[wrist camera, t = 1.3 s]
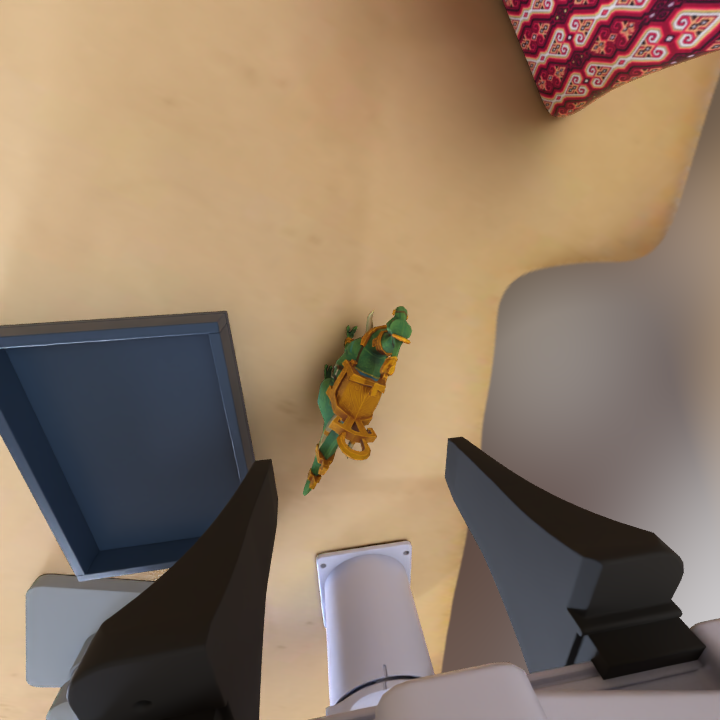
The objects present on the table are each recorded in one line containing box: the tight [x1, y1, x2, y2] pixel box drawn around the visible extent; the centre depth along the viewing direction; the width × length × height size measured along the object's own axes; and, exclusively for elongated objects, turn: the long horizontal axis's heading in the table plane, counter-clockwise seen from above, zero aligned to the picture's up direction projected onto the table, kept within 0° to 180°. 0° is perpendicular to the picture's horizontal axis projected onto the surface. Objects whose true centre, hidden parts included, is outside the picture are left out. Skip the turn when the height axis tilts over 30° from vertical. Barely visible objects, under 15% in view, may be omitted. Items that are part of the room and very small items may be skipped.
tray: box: [0, 311, 255, 581], centre depth 21 cm, size 17×12×2 cm
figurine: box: [303, 306, 412, 496], centre depth 18 cm, size 3×12×8 cm, turn 152°
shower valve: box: [26, 574, 154, 720], centre depth 26 cm, size 12×6×15 cm
